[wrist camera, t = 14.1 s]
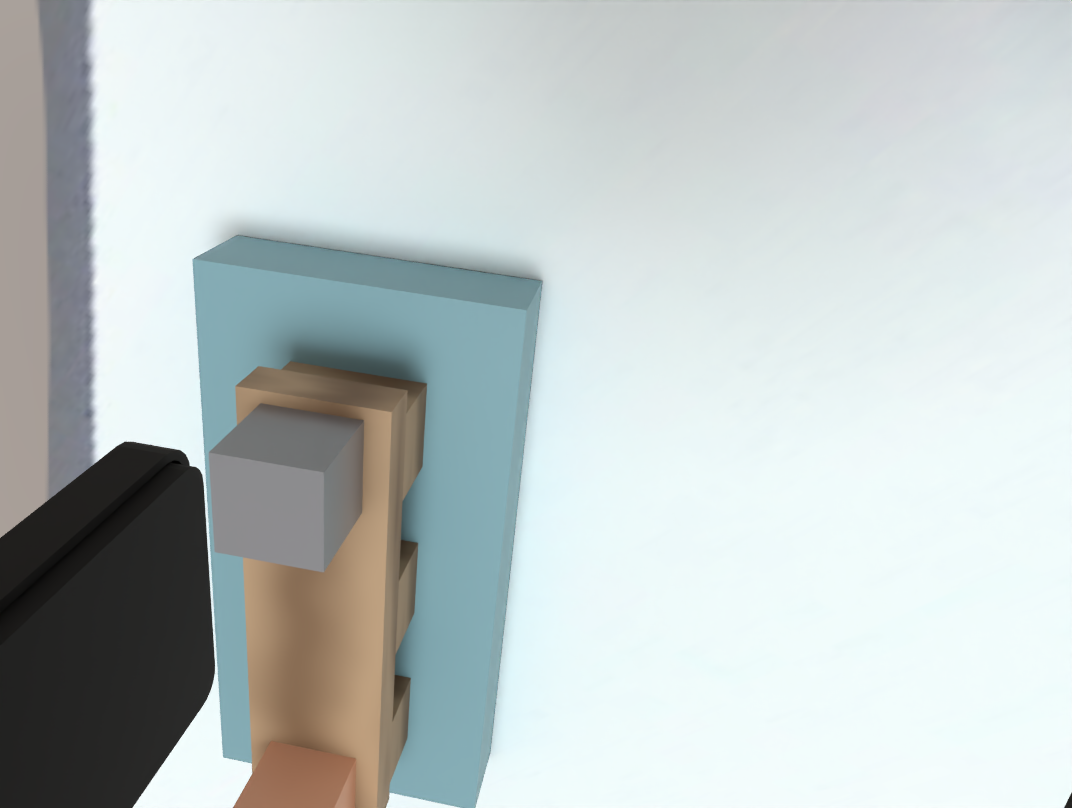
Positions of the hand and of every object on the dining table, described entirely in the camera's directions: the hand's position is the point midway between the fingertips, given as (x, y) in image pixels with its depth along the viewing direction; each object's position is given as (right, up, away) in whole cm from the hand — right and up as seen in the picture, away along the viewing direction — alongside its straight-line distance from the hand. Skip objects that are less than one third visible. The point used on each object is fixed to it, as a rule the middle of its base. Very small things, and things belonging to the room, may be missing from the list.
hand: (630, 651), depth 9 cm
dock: (-9, -4, +37) cm, 38 cm away
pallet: (-9, -5, +33) cm, 35 cm away
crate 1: (-9, 0, +25) cm, 27 cm away
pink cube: (-11, -15, +32) cm, 37 cm away
